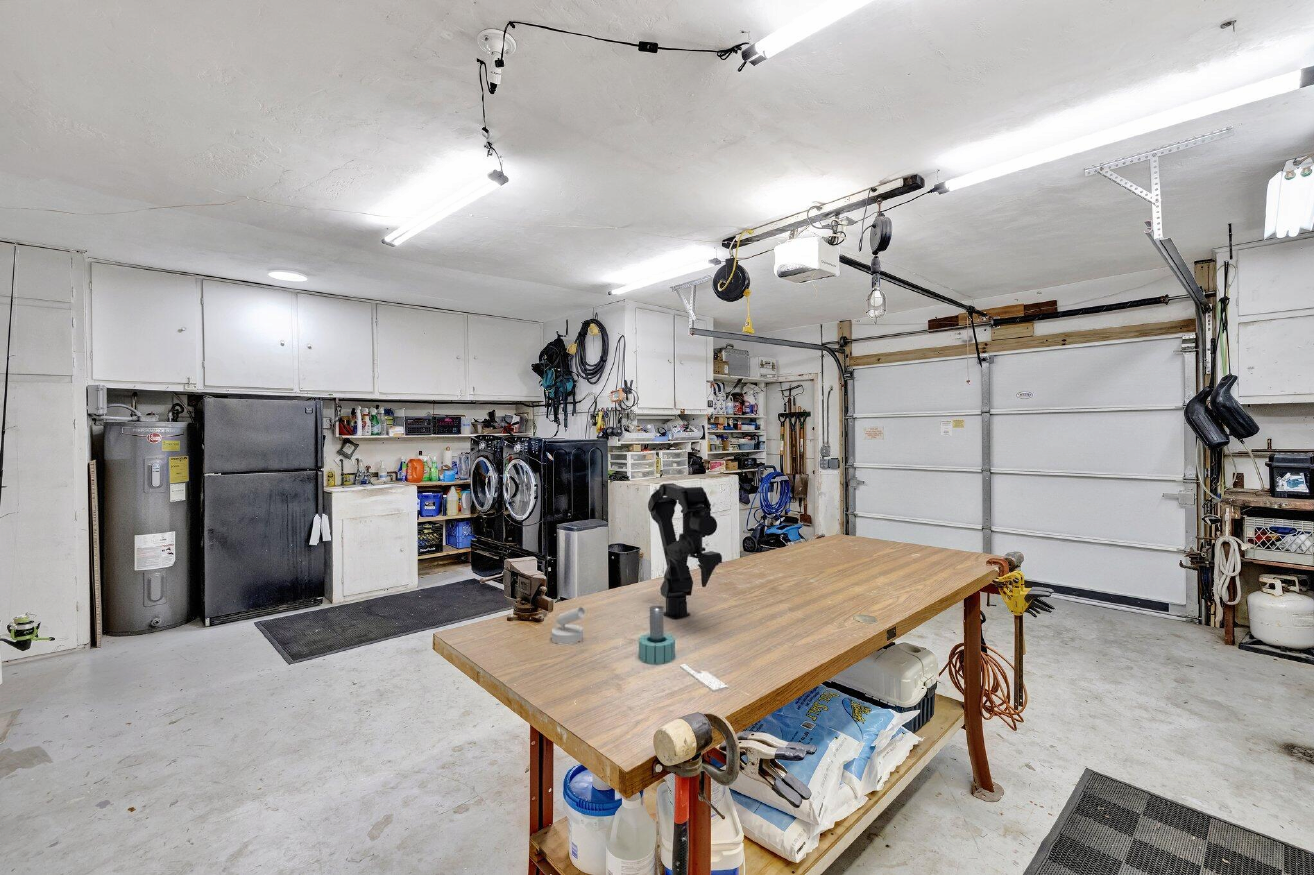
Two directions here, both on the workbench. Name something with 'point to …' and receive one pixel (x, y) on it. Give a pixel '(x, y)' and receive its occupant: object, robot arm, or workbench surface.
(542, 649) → the workbench surface
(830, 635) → the workbench surface
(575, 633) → the wall hook
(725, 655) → the workbench surface
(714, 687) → the butcher knife
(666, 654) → the teal notched ring
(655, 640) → the shiny metal cylinder
